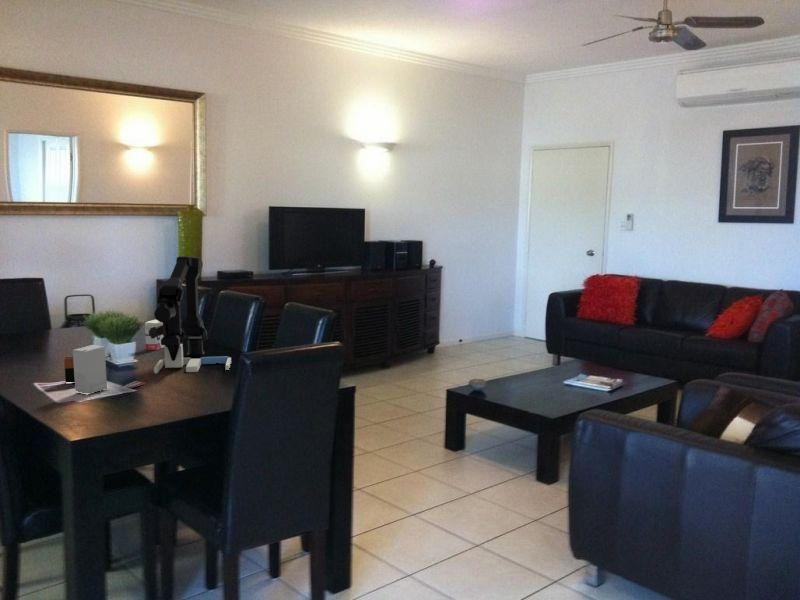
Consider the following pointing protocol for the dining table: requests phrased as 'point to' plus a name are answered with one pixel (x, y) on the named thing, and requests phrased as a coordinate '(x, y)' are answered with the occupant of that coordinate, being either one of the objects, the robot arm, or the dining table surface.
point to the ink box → (155, 342)
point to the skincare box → (90, 369)
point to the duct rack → (197, 363)
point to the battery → (69, 368)
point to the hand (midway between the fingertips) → (174, 359)
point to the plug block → (178, 360)
